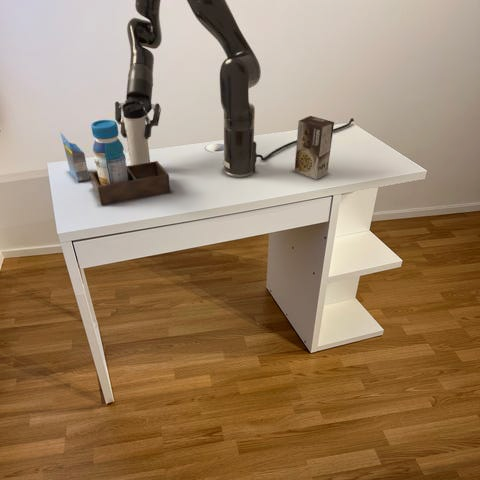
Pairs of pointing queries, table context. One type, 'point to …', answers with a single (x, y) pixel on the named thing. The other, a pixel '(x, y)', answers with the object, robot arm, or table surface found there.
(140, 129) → the travel mug
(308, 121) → the coffee box
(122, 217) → the table surface
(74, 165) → the blue hanging retail box
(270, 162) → the table surface
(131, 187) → the caddy
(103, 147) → the beverage bottle
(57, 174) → the table surface
